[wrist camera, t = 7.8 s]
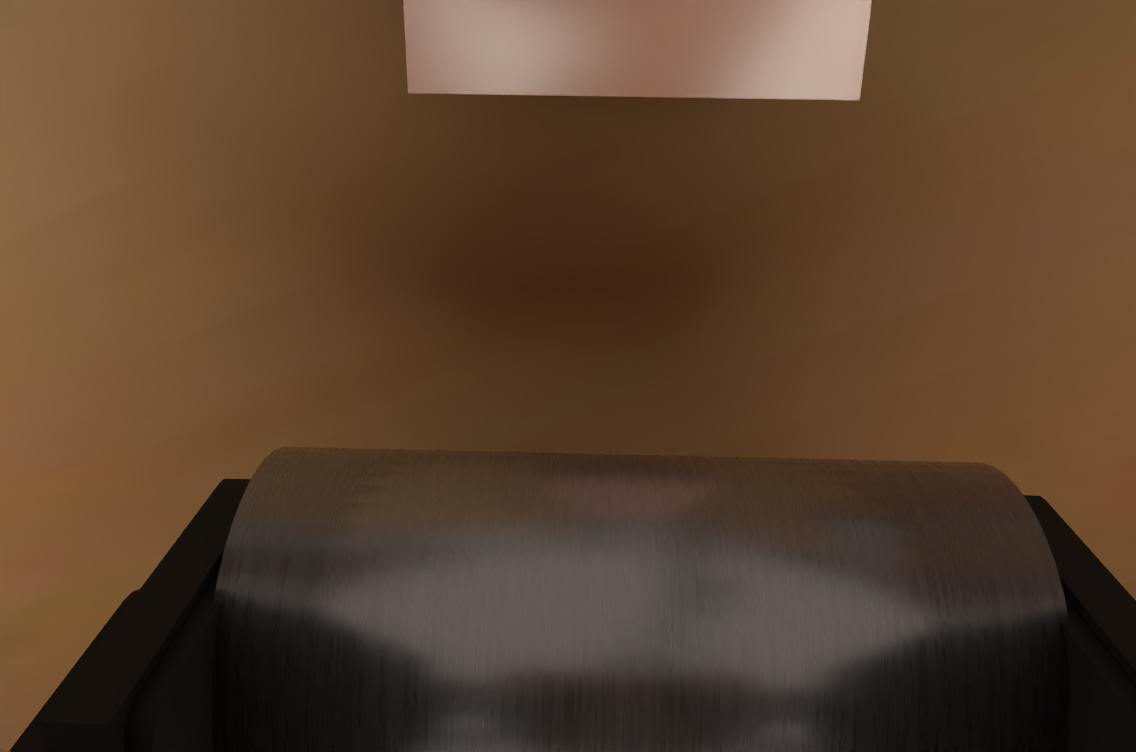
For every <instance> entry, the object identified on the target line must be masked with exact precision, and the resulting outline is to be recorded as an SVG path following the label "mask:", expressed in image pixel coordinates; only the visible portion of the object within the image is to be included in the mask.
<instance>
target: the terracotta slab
mask: <svg viewBox="0 0 1136 752" xmlns="http://www.w3.org/2000/svg"><path fill="white" fill-rule="evenodd" d="M403 4H404V24H405V44H406V64H407V84H408V93H423V94H488V95H553V96H617V97H682V98H747V99H812V100H860V92H861V84H862V76H863V68H864V60H865V52H866V44H867V36H868V28H869V20H870V12H871V4H872V0H403Z"/></svg>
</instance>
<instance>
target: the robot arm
mask: <svg viewBox="0 0 1136 752" xmlns="http://www.w3.org/2000/svg"><path fill="white" fill-rule="evenodd" d="M250 480H251V479H223V480H222V481H221V482H220V483H219V484H218V486H217V487H216V488H215V490H214V491H213V492H212V494H211V495H210V496H209V498H208V499H207V500H206V502H205V503H204V504H203V506H202V507H201V508H200V510H199V511H198V513H197V514H196V515H195V517H194V518H193V519H192V521H191V522H190V523H189V525H188V526H187V527H186V529H185V530H184V531H183V533H182V534H181V535H180V537H179V538H178V539H177V541H176V542H175V543H174V545H173V546H172V547H171V549H170V550H169V551H168V553H167V554H166V555H165V557H164V558H163V559H162V561H161V562H160V563H159V565H158V566H157V567H156V569H155V570H154V571H153V573H152V574H151V575H150V577H149V578H148V579H147V581H146V582H145V583H144V585H143V586H142V587H141V589H139V590H136V591H133V592H132V593H131V594H130V595H129V596H128V597H127V598H126V599H125V600H124V601H123V602H122V604H121V605H120V606H119V608H118V609H117V610H116V612H115V613H114V614H113V615H112V617H111V618H110V619H109V621H108V622H107V623H106V625H105V626H104V627H103V629H102V630H101V631H100V633H99V634H98V635H97V636H96V638H95V639H94V640H93V642H92V643H91V644H90V646H89V647H88V648H87V650H86V651H85V652H84V654H83V655H82V656H81V657H80V659H79V660H78V661H77V663H76V664H75V665H74V667H73V668H72V669H71V671H70V672H69V673H68V675H67V676H66V677H65V679H64V680H63V681H62V682H61V684H60V685H59V686H58V688H57V689H56V690H55V692H54V693H53V694H52V696H51V697H50V698H49V700H48V701H47V702H46V703H45V705H44V706H43V707H42V709H41V710H40V711H39V713H38V714H37V715H36V717H35V718H34V719H33V721H32V722H31V723H30V724H29V726H28V727H27V728H26V730H25V731H24V732H23V734H22V735H21V736H20V738H19V739H18V740H17V742H16V743H15V744H14V746H13V747H12V748H11V749H10V751H6V750H2V749H0V752H214V748H213V732H212V681H213V662H214V651H215V640H216V630H217V623H218V616H219V608H220V605H217V604H213V601H214V595H215V590H216V585H217V580H218V574H219V570H220V566H221V562H222V558H223V554H224V549H225V545H226V542H227V539H228V536H229V532H230V529H231V526H232V522H233V520H234V517H235V514H236V512H237V509H238V506H239V504H240V501H241V499H242V496H243V494H244V492H245V490H246V488H247V486H248V484H249V482H250ZM1023 496H1024V497H1025V498H1026V500H1027V501H1028V503H1029V505H1030V507H1031V508H1032V510H1033V512H1034V514H1035V515H1036V517H1037V519H1038V521H1039V523H1040V526H1041V528H1042V530H1043V532H1044V535H1045V537H1046V539H1047V541H1048V544H1049V547H1050V550H1051V553H1052V555H1053V558H1054V561H1055V564H1056V567H1057V571H1058V574H1059V578H1060V581H1061V585H1062V589H1063V592H1064V597H1065V602H1066V606H1067V611H1068V616H1069V621H1070V624H1063V623H1062V625H1063V632H1064V639H1065V647H1066V654H1067V666H1068V678H1069V711H1070V720H1069V739H1068V752H1136V601H1135V600H1134V598H1133V597H1132V596H1131V595H1130V594H1129V593H1128V592H1127V591H1126V590H1125V588H1124V587H1123V586H1122V585H1121V584H1120V583H1119V582H1118V581H1117V579H1116V578H1115V577H1114V576H1113V575H1112V574H1111V573H1110V572H1109V571H1108V569H1107V568H1106V567H1105V566H1104V565H1103V564H1102V563H1101V562H1100V560H1099V559H1098V558H1097V557H1096V556H1095V555H1094V554H1093V553H1092V552H1091V550H1090V549H1089V548H1088V547H1087V546H1086V545H1085V544H1084V543H1083V541H1082V540H1081V539H1080V538H1079V537H1078V536H1077V535H1076V534H1075V533H1074V531H1073V530H1072V529H1071V528H1070V527H1069V526H1068V525H1067V524H1066V522H1065V521H1064V520H1063V519H1062V518H1061V517H1060V516H1059V515H1058V514H1057V512H1056V511H1055V510H1054V509H1053V508H1052V507H1051V506H1050V505H1049V503H1048V502H1047V501H1046V500H1045V499H1043V498H1042V497H1041V496H1028V495H1023Z"/></svg>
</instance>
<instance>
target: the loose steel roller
mask: <svg viewBox="0 0 1136 752" xmlns="http://www.w3.org/2000/svg"><path fill="white" fill-rule="evenodd" d="M213 604H217V605H220V608H219V616H218V623H217V630H216V640H215V651H214V662H213V681H212V732H213V748H214V752H1068V739H1069V720H1070V711H1069V678H1068V666H1067V654H1066V647H1065V639H1064V632H1063V625H1062V623H1063V624H1070V621H1069V616H1068V611H1067V606H1066V602H1065V597H1064V592H1063V589H1062V585H1061V581H1060V578H1059V574H1058V571H1057V567H1056V564H1055V561H1054V558H1053V555H1052V553H1051V550H1050V547H1049V544H1048V541H1047V539H1046V537H1045V535H1044V532H1043V530H1042V528H1041V526H1040V523H1039V521H1038V519H1037V517H1036V515H1035V514H1034V512H1033V510H1032V508H1031V507H1030V505H1029V503H1028V501H1027V500H1026V498H1025V497H1024V496H1023V494H1022V493H1021V492H1020V490H1019V489H1018V488H1017V486H1016V485H1015V484H1014V483H1013V482H1012V481H1011V480H1010V479H1009V478H1008V477H1007V476H1006V475H1005V474H1004V473H1002V472H1001V471H999V470H998V469H996V468H995V467H993V466H990V465H987V464H985V463H971V462H927V461H882V460H838V459H794V458H749V457H705V456H660V455H616V454H572V453H527V452H483V451H439V450H394V449H350V448H306V447H282V448H279V449H277V450H275V451H273V452H272V453H271V454H270V455H269V456H267V457H266V458H265V460H264V461H263V462H262V463H261V464H260V466H259V467H258V468H257V470H256V472H255V473H254V475H253V477H252V478H251V480H250V482H249V484H248V486H247V488H246V490H245V492H244V494H243V496H242V499H241V501H240V504H239V506H238V509H237V512H236V514H235V517H234V520H233V522H232V526H231V529H230V532H229V536H228V539H227V542H226V545H225V549H224V554H223V558H222V562H221V566H220V570H219V574H218V580H217V585H216V590H215V595H214V601H213Z"/></svg>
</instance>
